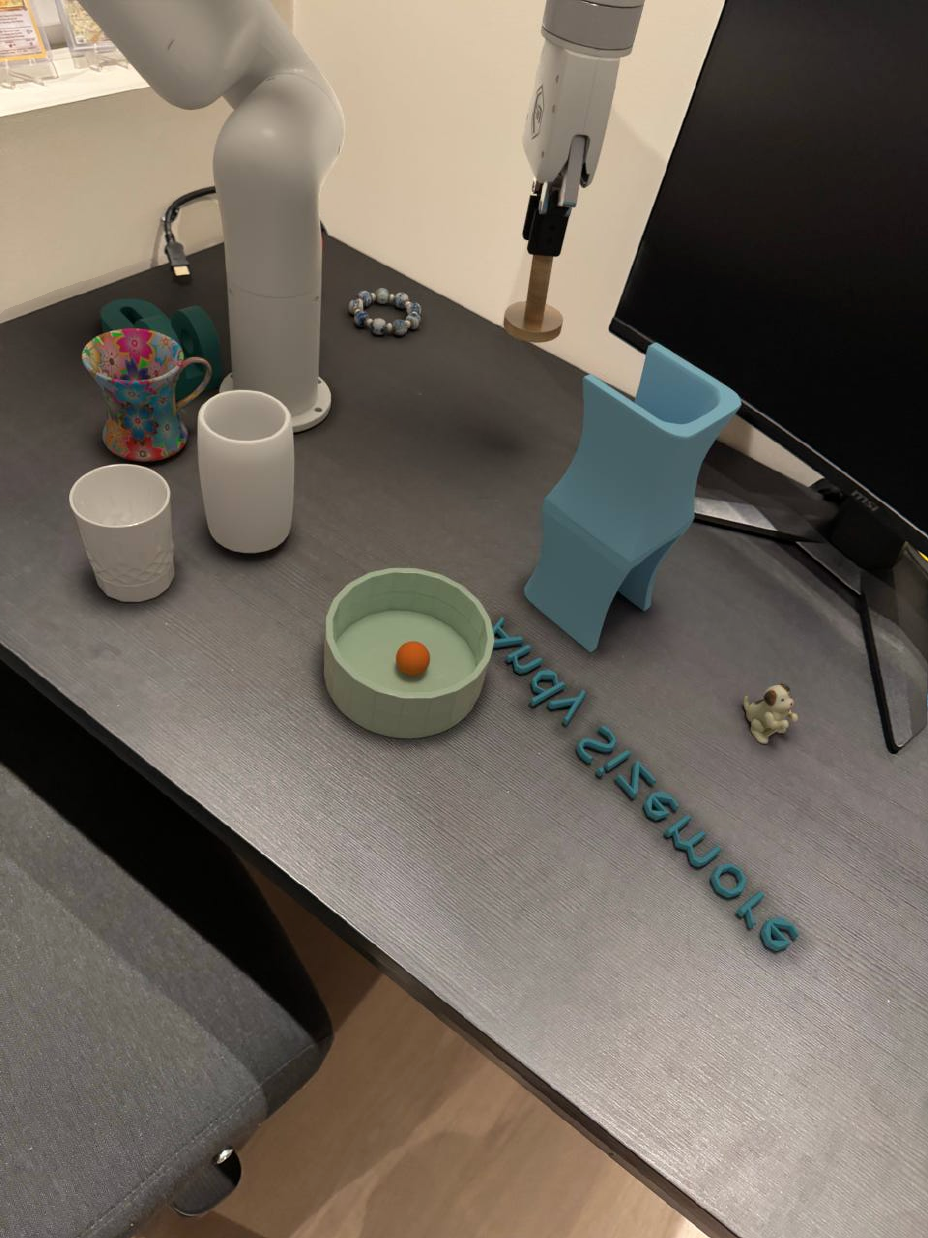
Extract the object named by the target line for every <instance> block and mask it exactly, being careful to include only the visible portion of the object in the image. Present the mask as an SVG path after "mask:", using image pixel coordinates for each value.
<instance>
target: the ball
mask: <svg viewBox="0 0 928 1238" xmlns="http://www.w3.org/2000/svg"><path fill="white" fill-rule="evenodd" d="M396 663H397V666H398V668H399V669H400V670H401V671H402V672H403V673H405V674H407V675H411V676H415V675H419V674H421V673H423V672H424V671H425V670H426V669H427V668H428V666H429V663H430V654H429V651H428V649H427V648H426V647H425V646H424V645H423V644H421V643H419V642H415V641H411V642H407V643H405V644H403V645H402V646H401V647H400V648H399V650H398V651H397V654H396Z"/></svg>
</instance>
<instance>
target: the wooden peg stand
mask: <svg viewBox="0 0 928 1238" xmlns="http://www.w3.org/2000/svg"><path fill="white" fill-rule="evenodd" d="M543 186H544V184H543ZM543 186H542V190H543ZM554 190H557V191H559V190H561V188H559V187H552V191H551V194H552V193H553V191H554ZM541 195H542V193H541ZM531 256H532V257H531V264H530V271H529V279H528V284H527V285H528V286H527V292H526V300H522V301H516V302H514V303H512V304H510V305H508V306H507V307H506V309H505V311H504V315H503V329H504V330H505V331H506V333H507V334H508V335H510V336H511V337H513V338H515V339H517V340H519V341H523V342H527V343H534V344H535V343H537V344H539V343H547V342H551V341H554V340H555V339H556V338H558V337H559V336H560V334H561V333H562V328H563V323H564V322H563V321H564V318H563V314H562V313H561V312H560V311H559V310H558V309H557V308H555V307H554V306H552V305H550V304H549V303H547V300H548V299H547V298H548V293H549V286H550V281H551V275H552V268H553V261H554V257H551V256H541V255H531Z"/></svg>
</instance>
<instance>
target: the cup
mask: <svg viewBox="0 0 928 1238" xmlns="http://www.w3.org/2000/svg"><path fill="white" fill-rule="evenodd" d="M196 440H197V443H196V444H197V460H198V461H197V462H198V473H199V481H200V489H201V495H202V502H203V508H204V513H205V519H206V523H207V528H208V530H209V533H210V536H211V537H212V538H213V540H215V542H216V543H217V544H219V545H221V546H222V547H223V548H225V549H228V550H230V551H232V552H237V553H244V554H257V553H262V552H267V551H270V550H272V549H275V548H277V547H278V546H279V545H281V544H282V543H283V542H285V540H286V539H287V537H288V536H289V534H290V532H291V527H292V521H293V520H292V519H293V507H294V506H293V505H294V490H295V489H294V488H295V445H294V433H293V430H292V420H291V414H290V413H289V411H288V409H287V408H286V407H285V406H284V405H283V404H282V403H281V402H280V401H279V400H277V399H276V398H274V397H272V396H270V395H268V394H265V393H263V392H258V391H252V390H234V391H227V392H223V393H220V394H219V393H217V394H215V395H214V396H212V397H210V398H209V399H208V400H206V401H205V402H204V403H203V404H202V405H201V407H200V409H199V411H198V415H197V439H196Z"/></svg>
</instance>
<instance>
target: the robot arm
mask: <svg viewBox="0 0 928 1238" xmlns="http://www.w3.org/2000/svg"><path fill="white" fill-rule="evenodd" d="M76 1H77V3H78V4H79V5H80V7H81V8H82V9H83V11H85V12H86V14H87V15H88V16H89V17H90V18H91V19H92V21H93V22H94V23H95V24H96V25H97V26H98V28H100V30H101V31H102V32H103V33H104V35H105V36H106V37H107V38H108V39H109V40H110V42H111V43H112V44H113V45H114V47H116V49H117V50H118V51H119V52H120V53H121V54H122V56H123V57H124V58H125V60H127V61H128V63H129V64H130V65H131V66H132V67H133V68H134V70H135V71H136V72H137V73H138V75H139V76H140V77H141V78H142V79H143V81H145V82H146V84H147V85H148V86H149V87H150V88H151V90H152V91H154V92H155V93H156V94H157V95H158V96H159V97H160V98H161V99H163V100H164V101H165V102H167V103H168V104H169V105H171V106H173V107H176V108H178V109H181V110H185V111H195V110H201V109H204V108H206V107H209V106H210V105H212V104H214V103H215V102H216V101H218V100H219V99H220V98H223V99H224V100H225V101H226V102H227V104H228V105H229V106H230V107H231V108H232V109H233V110H232V112H231V113H230V114H229V115H228V117H227V118H226V119H225V121H224V123H223V125H222V126H221V128H220V130H219V133H218V135H217V137H216V140H215V144H214V148H213V155H212V177H213V183H214V189H215V193H216V198H217V203H218V207H219V213H220V218H221V226H222V235H223V243H224V244H223V245H224V259H225V261H224V262H225V272H226V285H227V286H226V287H227V303H228V306H227V307H228V321H229V322H228V323H229V337H230V338H229V339H230V357H231V359H230V360H231V372H230V373H229V374H228V375H227V376H225V378H223V382H222V383H221V385H220V386H219V389H218V394H220V393H223V392H227V391H234V390H252V391H258V392H263V393H265V394H268V395H270V396H272V397H274V398H276V399H277V400H279V401H280V402H281V403H282V404H283V405H284V406H285V407H286V408H287V409H288V411H289V413H290V414H291V420H292V430H293V434H294V433H299V432H303V431H306V430H309V429H311V428H313V427H315V426H317V425H319V424H320V423H321V422H323V420H324V419H326V417H327V416H328V414H329V412H330V410H331V406H332V405H331V404H332V394H331V390H330V387H329V386H328V385H327V383H326V382H325V380H323V378H321V377H320V376H319V371H320V369H319V368H320V343H321V341H320V337H321V311H322V307H321V305H322V267H323V248H322V240H323V239H322V240H321V237H322V230H321V221H320V197H321V192H322V188H323V186H324V184H325V182H326V180H327V178H328V177H329V175H330V172H331V171H332V169H333V167H334V166H335V164H336V163H337V161H338V159H339V157H340V155H341V153H342V151H343V148H344V144H345V141H346V131H347V130H346V119H345V115H344V111H343V108H342V105H341V103H340V100H339V98H338V96H337V94H336V92H335V91H334V89H333V87H332V85H331V84H330V82H329V81H328V79H327V78H326V77H325V75H324V74H323V73H322V72H321V70H320V68H319V67H318V66H317V64H316V63H315V62H314V60H313V59H312V57H311V56H310V55H309V54H308V52H307V51H306V49H305V48H304V47H303V46H302V44H301V43H300V41H299V40H298V38H297V37H296V36H295V35H294V33H293V32H292V30H291V29H290V28H289V26H288V25H287V23H285V20H283V18H282V17H281V15H280V14H279V13H278V11H277V9H276V8H275V7H274V6H273V5H272V3H271V2H270V0H76ZM645 2H646V0H546V1H545V6H544V11H543V17H542V21H541V22H542V23H541V27H540V28H541V29H540V34H541V37H543V38H544V39H545V40H544V43H543V47H542V51H541V54H540V58H539V62H538V65H537V69H536V70H537V71H536V74H535V79H534V82H533V87H532V91H531V96H530V100H529V105H528V109H527V113H526V118H525V122H524V125H523V126H524V127H523V132H522V141H521V143H522V147H523V150H524V153H525V156H526V159H527V162H528V164H529V167H530V169H531V171H532V174H533V179H532V184H531V194H529V197H528V203H527V208H526V212H525V218H524V222H523V227H522V233H521V235H522V238H523V240H525V241H527V245H526V251H527V253H528V254H529V255H530V256H533V255H541V256H551V257H553V258H557V257H559V256H560V255H561V254H562V249H563V246H564V240H565V237H566V233H567V228H568V224H569V220H570V217H571V215H572V211H573V208H576V207H577V205H578V204H577V203H578V199H579V198H578V197H579V191H580V187H581V188H582V189H586V188H587V187H589V186H590V185H591V184H592V183H593V180H594V178H595V174H596V172H597V169H598V164H599V162H600V157H601V153H602V149H603V145H604V142H605V137H606V133H607V129H608V124H609V119H610V115H611V111H612V105H613V100H614V95H615V91H616V86H617V85H616V84H617V79H618V73H619V68H620V63H621V58H625V57H628V56H630V55H631V54H632V52H633V48H634V44H635V40H636V37H637V33H638V29H639V25H640V22H641V18H642V13H643V10H644V5H645ZM543 184H544V186H543ZM542 186H543V190H542ZM552 187H559V188H561V190H559V191H557V190H554V191H553V193H552V194H551V191H552ZM541 193H542V195H541Z"/></svg>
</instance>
